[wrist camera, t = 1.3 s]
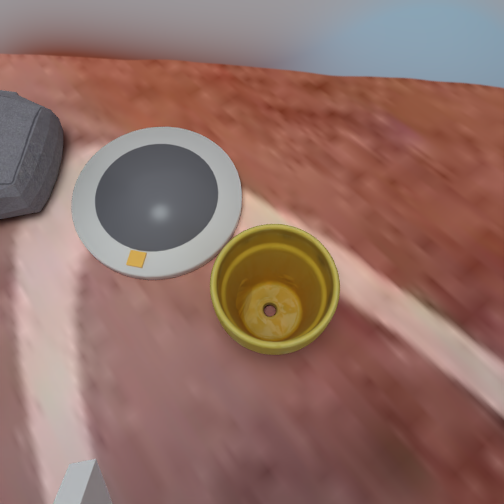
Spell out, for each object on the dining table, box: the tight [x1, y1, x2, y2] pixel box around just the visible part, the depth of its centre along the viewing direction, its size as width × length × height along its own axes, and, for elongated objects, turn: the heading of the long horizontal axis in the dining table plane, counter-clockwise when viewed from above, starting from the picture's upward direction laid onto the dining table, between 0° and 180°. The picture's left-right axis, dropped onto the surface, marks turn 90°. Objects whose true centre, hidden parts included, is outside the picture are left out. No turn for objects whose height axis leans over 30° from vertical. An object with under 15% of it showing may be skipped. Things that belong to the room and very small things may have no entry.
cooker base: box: [72, 127, 242, 280], centre depth 47 cm, size 18×18×2 cm
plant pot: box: [210, 224, 340, 355], centre depth 39 cm, size 10×10×10 cm
